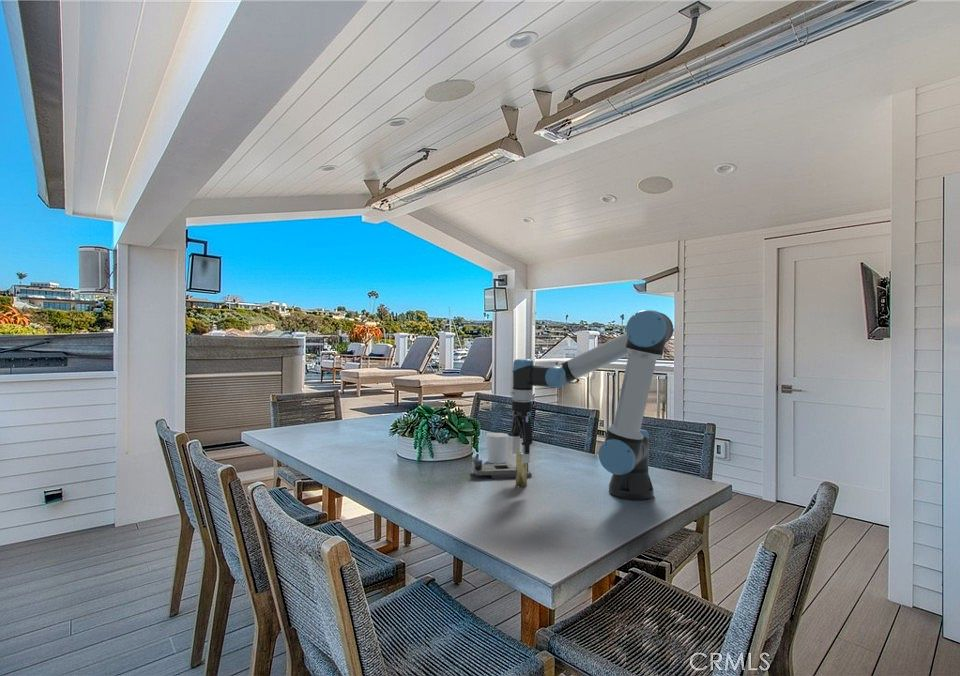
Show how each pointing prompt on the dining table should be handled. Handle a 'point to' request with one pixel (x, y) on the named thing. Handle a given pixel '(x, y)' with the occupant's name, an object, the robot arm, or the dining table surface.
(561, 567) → the dining table surface
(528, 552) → the dining table surface
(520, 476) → the toggle switch lever
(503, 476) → the toggle switch plate
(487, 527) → the dining table surface
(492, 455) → the candle holder
